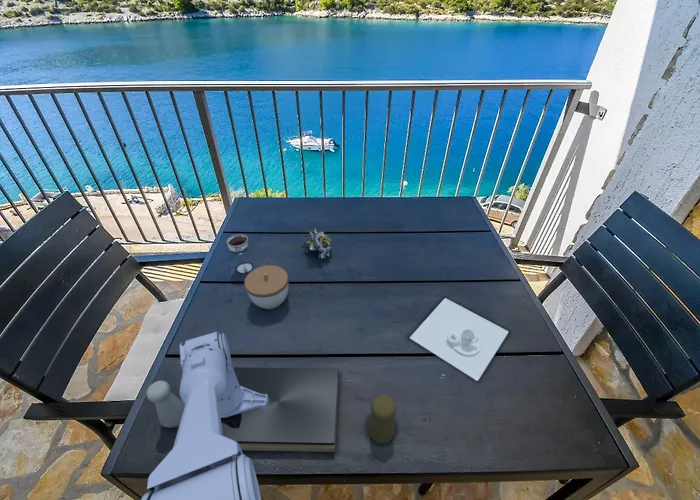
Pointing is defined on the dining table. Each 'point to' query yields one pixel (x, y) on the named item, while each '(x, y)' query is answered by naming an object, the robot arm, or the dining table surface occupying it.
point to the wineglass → (239, 250)
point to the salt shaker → (166, 404)
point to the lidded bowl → (267, 286)
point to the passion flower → (319, 244)
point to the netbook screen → (288, 406)
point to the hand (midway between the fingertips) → (237, 423)
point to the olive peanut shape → (382, 419)
